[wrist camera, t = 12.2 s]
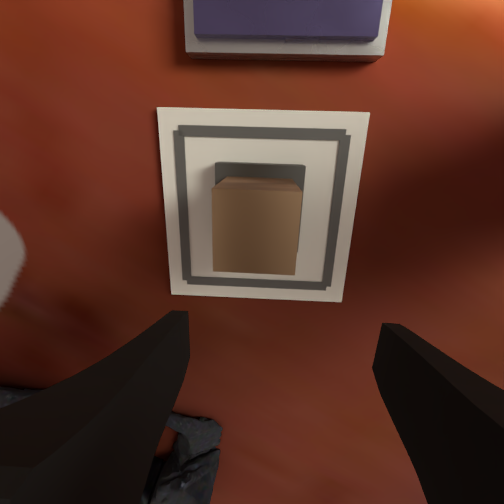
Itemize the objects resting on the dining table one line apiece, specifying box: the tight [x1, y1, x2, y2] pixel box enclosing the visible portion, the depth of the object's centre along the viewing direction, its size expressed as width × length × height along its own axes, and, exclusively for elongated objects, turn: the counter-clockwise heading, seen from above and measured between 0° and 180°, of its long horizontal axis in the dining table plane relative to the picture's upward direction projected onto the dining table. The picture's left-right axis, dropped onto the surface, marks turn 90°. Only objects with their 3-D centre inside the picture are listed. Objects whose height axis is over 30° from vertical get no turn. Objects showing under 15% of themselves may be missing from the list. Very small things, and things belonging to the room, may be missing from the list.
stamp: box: [212, 161, 306, 275], centre depth 15 cm, size 5×5×6 cm
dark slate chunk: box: [0, 387, 222, 504], centre depth 25 cm, size 15×22×5 cm
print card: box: [157, 107, 370, 302], centre depth 19 cm, size 12×12×1 cm
